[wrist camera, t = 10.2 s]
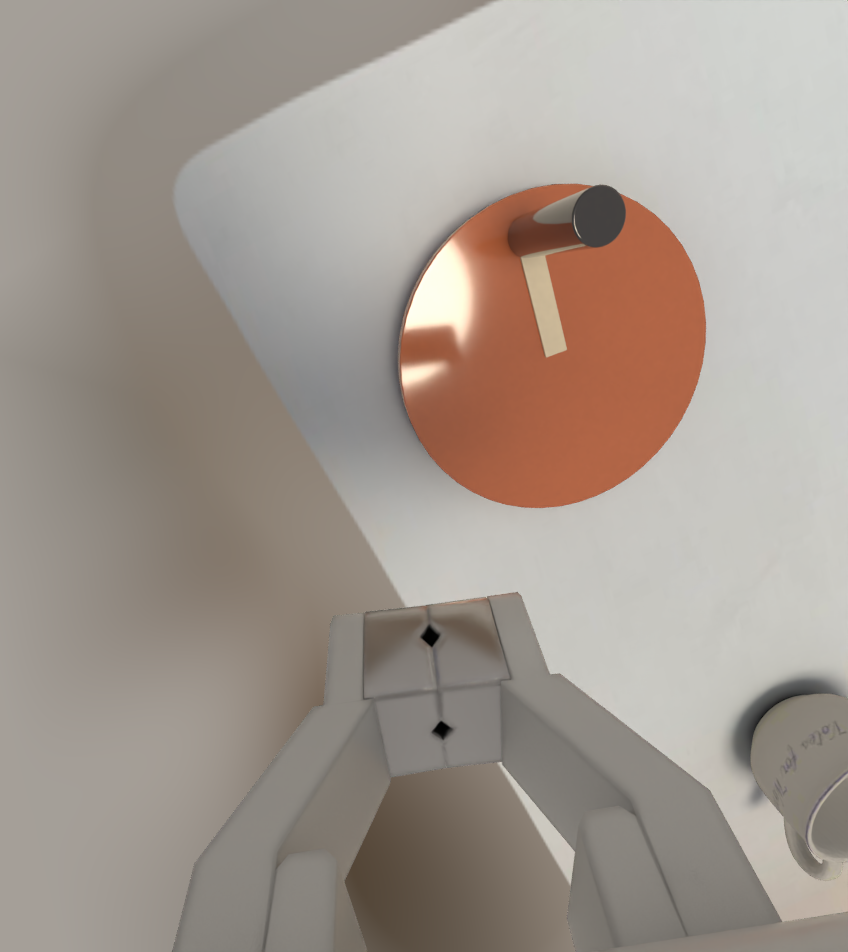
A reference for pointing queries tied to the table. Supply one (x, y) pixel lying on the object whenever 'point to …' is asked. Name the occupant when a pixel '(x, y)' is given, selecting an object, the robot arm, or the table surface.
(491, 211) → the orange turntable with peg
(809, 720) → the teacup
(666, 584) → the table surface
